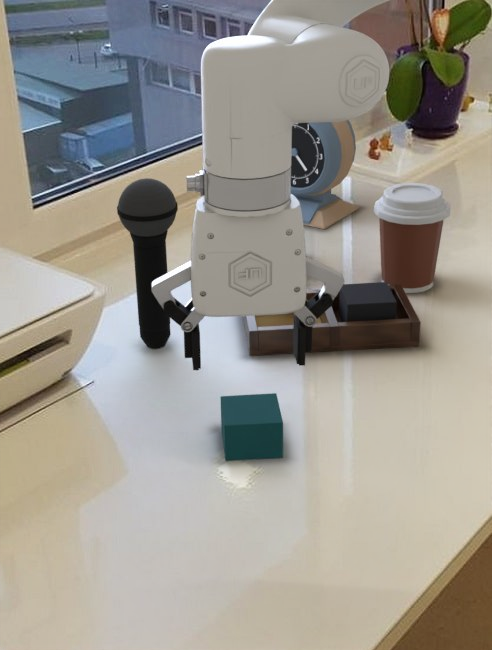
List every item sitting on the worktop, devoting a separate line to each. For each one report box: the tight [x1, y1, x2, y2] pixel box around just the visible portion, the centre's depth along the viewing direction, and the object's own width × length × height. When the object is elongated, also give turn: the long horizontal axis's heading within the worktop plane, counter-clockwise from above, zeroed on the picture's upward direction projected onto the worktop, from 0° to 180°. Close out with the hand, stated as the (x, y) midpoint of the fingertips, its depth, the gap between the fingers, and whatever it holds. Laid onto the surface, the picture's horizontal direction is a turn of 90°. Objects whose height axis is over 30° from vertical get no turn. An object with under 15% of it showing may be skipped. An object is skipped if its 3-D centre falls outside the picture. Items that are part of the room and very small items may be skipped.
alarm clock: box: [291, 120, 360, 230], centre depth 154 cm, size 14×10×18 cm
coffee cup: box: [373, 182, 451, 294], centre depth 132 cm, size 9×9×12 cm
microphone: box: [116, 177, 179, 350], centre depth 119 cm, size 7×7×20 cm
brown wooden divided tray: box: [241, 284, 421, 356], centre depth 124 cm, size 19×10×3 cm, turn 90°
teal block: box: [220, 392, 284, 462], centre depth 103 cm, size 6×6×4 cm
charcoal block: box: [339, 281, 397, 322], centre depth 123 cm, size 6×6×4 cm
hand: (247, 361), depth 100 cm, fingers open, 9 cm apart
